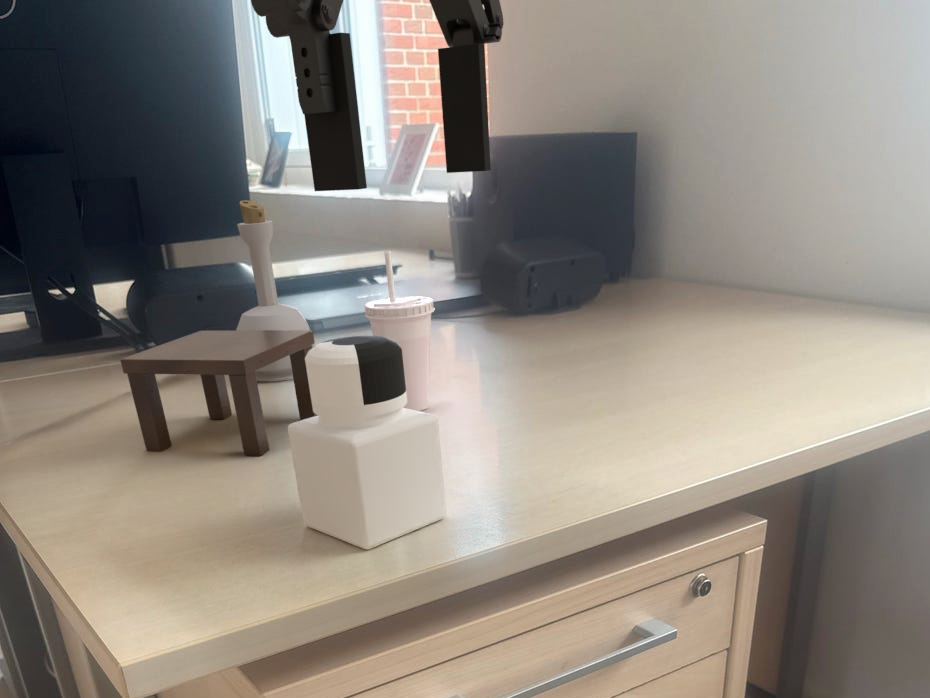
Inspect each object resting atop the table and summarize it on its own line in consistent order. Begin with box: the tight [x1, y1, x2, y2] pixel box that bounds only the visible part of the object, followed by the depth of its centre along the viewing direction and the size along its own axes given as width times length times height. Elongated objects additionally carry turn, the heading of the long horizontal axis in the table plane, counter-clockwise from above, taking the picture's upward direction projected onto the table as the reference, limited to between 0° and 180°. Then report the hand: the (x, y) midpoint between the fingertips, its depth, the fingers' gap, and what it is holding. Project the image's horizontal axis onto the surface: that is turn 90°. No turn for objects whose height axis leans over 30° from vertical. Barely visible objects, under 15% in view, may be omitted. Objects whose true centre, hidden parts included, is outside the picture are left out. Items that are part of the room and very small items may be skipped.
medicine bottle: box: [287, 335, 447, 551], centre depth 59 cm, size 7×7×12 cm
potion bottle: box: [235, 199, 316, 383], centre depth 99 cm, size 9×9×18 cm
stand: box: [119, 329, 318, 457], centre depth 81 cm, size 12×12×8 cm
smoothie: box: [364, 250, 436, 412], centre depth 84 cm, size 6×6×14 cm
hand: (411, 180), depth 51 cm, fingers open, 13 cm apart
